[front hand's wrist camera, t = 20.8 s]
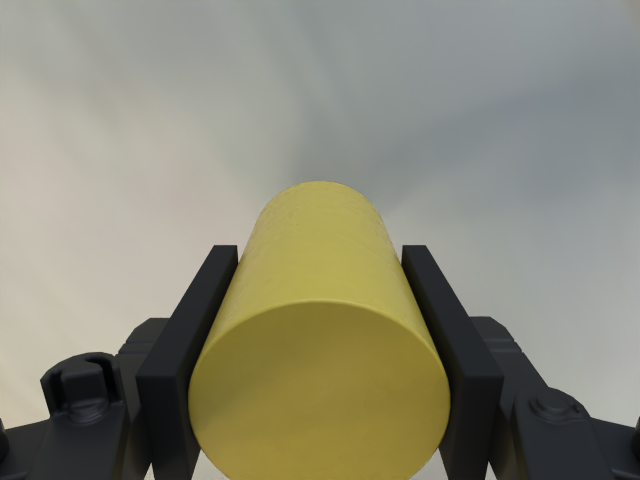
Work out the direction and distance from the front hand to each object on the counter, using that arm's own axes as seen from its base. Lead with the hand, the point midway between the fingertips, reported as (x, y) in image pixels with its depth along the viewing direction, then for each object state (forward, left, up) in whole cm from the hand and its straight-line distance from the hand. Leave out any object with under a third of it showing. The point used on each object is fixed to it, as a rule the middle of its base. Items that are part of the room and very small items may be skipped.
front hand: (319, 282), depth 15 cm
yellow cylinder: (0, 0, -3) cm, 3 cm away
